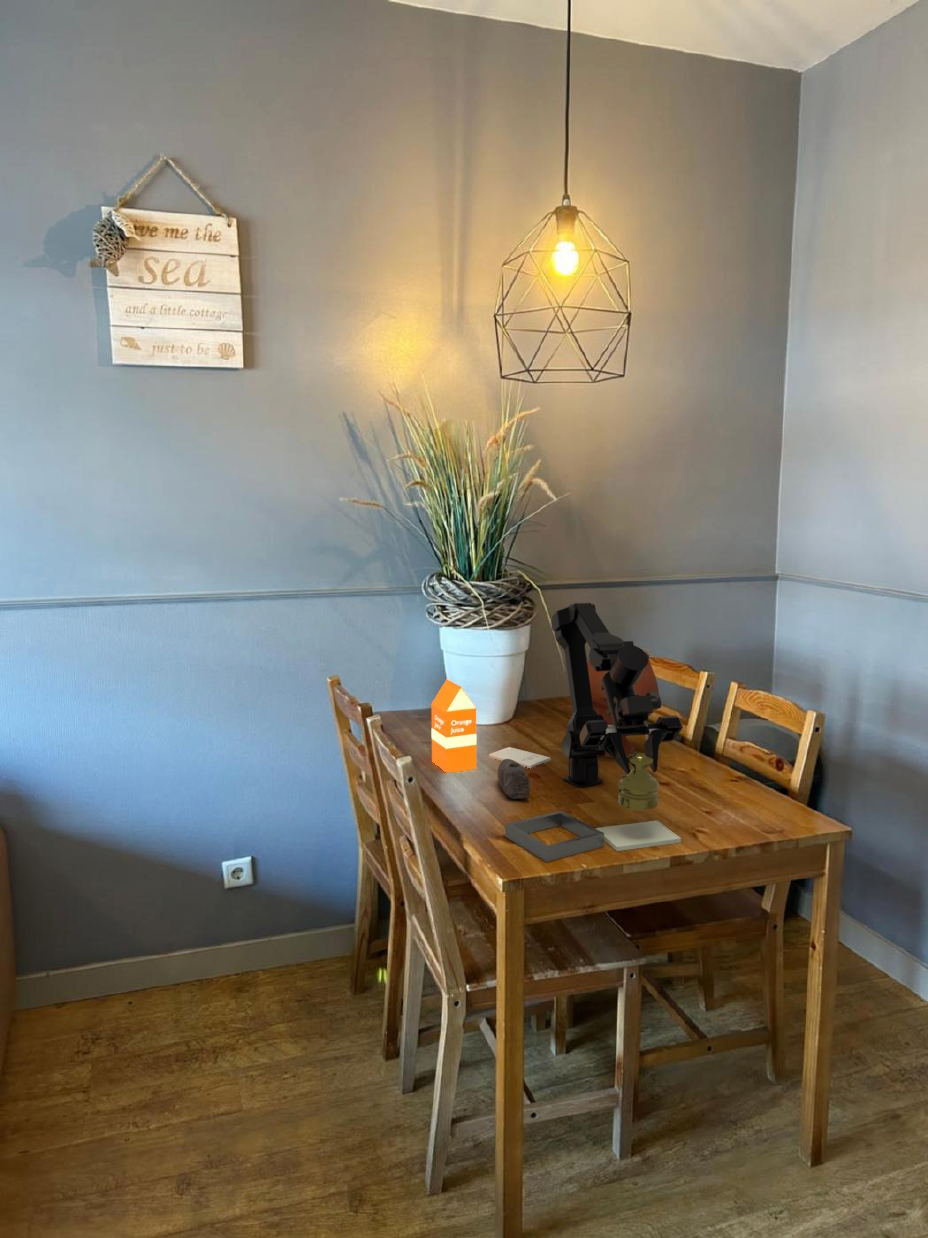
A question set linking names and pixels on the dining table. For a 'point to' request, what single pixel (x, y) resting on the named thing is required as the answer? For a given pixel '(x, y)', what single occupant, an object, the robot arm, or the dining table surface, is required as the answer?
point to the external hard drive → (520, 757)
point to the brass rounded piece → (638, 784)
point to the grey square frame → (585, 842)
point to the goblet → (600, 704)
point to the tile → (638, 835)
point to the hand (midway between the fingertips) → (641, 772)
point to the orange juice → (453, 729)
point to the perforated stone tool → (513, 779)
